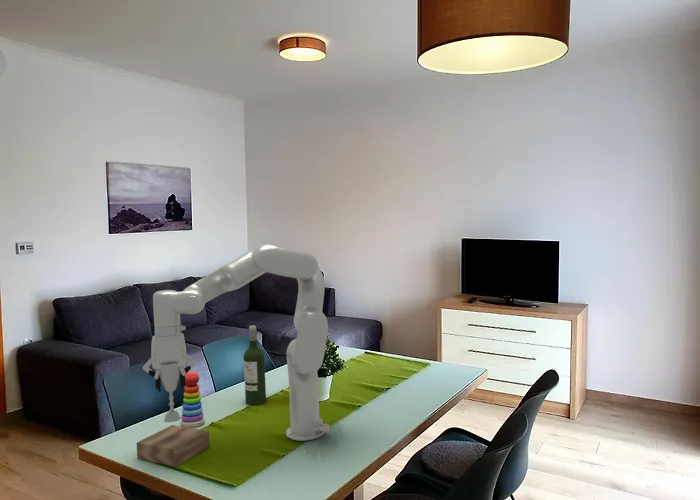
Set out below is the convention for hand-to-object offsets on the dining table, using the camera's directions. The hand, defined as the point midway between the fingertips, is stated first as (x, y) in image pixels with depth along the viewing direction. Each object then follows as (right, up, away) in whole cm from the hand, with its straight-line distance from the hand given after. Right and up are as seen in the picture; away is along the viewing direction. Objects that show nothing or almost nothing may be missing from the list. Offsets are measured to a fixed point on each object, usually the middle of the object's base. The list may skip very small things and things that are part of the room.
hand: (170, 388), depth 167 cm
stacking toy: (0, -19, +25) cm, 31 cm away
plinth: (+1, -20, +1) cm, 20 cm away
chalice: (0, -10, 0) cm, 10 cm away
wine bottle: (+18, -17, +46) cm, 52 cm away
